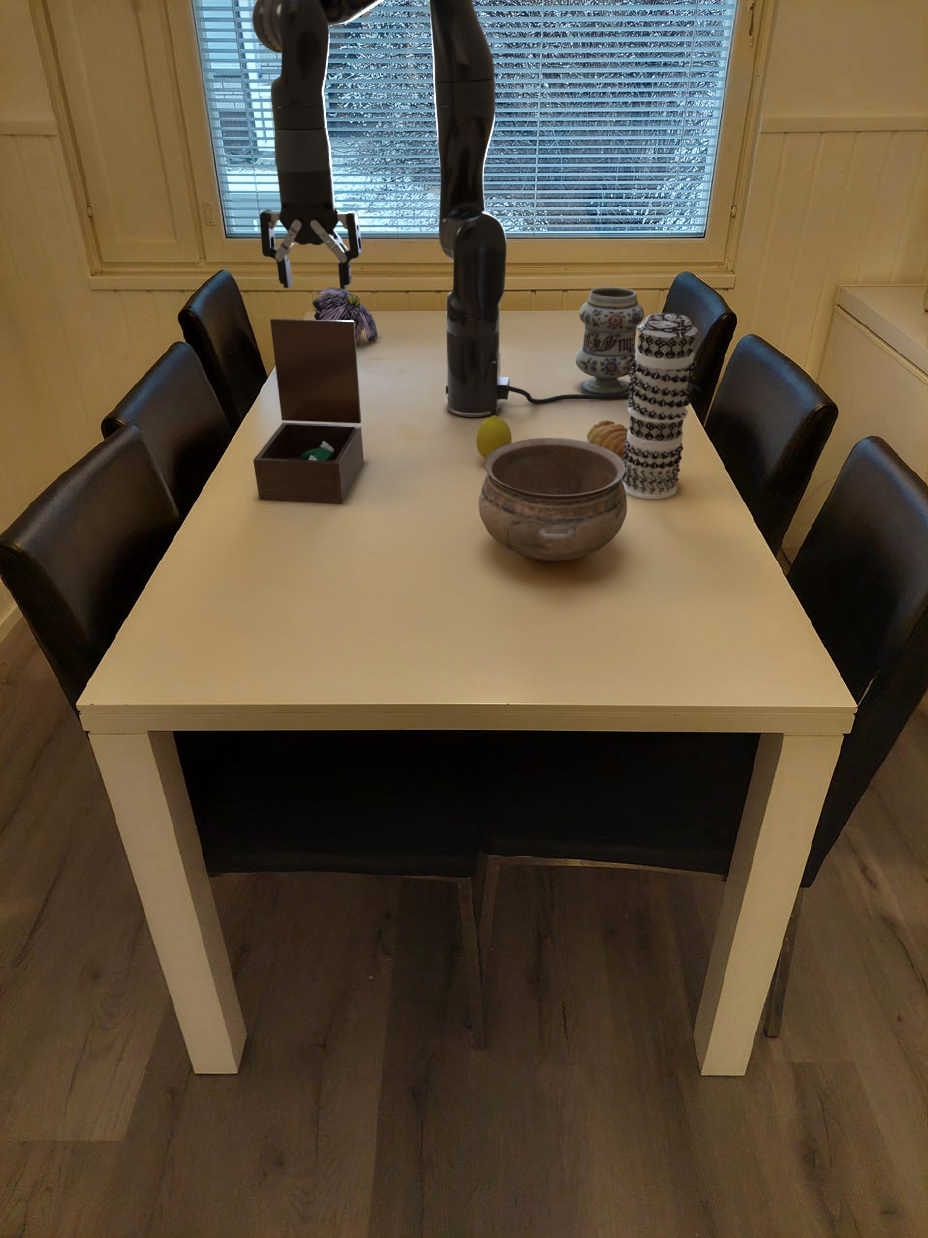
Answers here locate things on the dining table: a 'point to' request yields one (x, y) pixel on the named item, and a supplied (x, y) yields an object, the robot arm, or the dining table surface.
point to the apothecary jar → (608, 339)
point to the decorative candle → (658, 405)
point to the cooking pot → (553, 498)
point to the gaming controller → (319, 453)
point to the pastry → (609, 436)
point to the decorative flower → (345, 311)
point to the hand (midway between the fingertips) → (316, 287)
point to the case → (309, 463)
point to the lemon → (492, 435)
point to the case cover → (316, 370)
